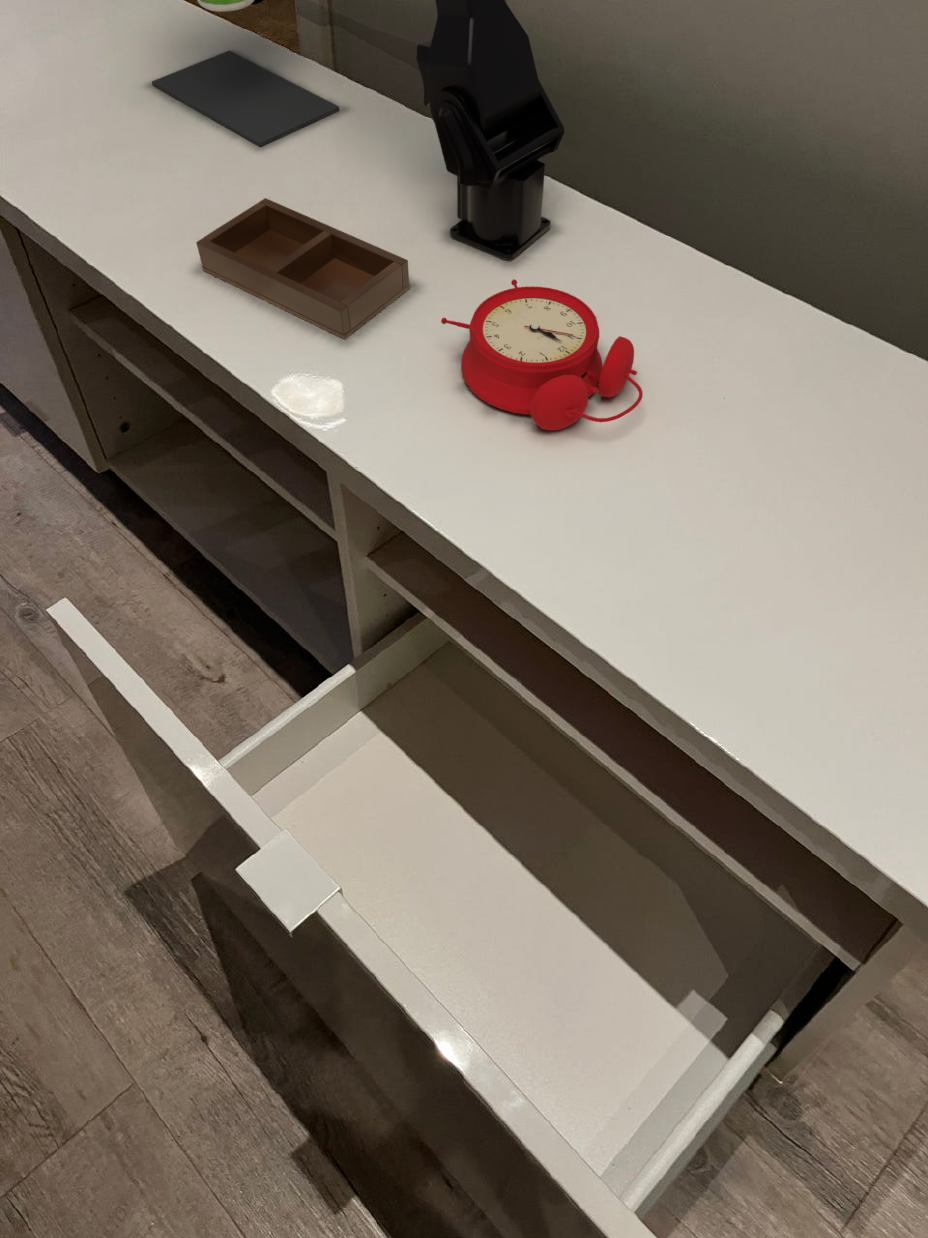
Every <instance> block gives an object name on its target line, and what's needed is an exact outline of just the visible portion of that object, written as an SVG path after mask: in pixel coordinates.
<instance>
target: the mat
mask: <svg viewBox="0 0 928 1238" xmlns="http://www.w3.org/2000/svg"><path fill="white" fill-rule="evenodd" d="M151 85H152V86H153V87H155V88H156V89H158V90H160V91H162V92H164V93H165V94H167V95H169V96H171V97H172V98H173V99H176V100H177V101H179V102H181V103H182V104H184V105H186V106H188V107H190V108H191V109H193V110H194V111H196V112H198V113H200V114H201V115H203V116H205V117H207V118H208V119H210V120H211V121H214V122H216V123H218V124H219V125H221V126H223V127H225V128H226V129H228V130H230V131H232V132H233V133H235V134H236V135H239V136H240V137H242V138H244V139H246V140H247V141H249V142H251V143H253V144H254V145H256V146H257V147H260V148H261V147H263V146H266V145H267V144H271V143H272V142H274V141H276V140H278V139H280V138H281V139H282V138H284V137H285V136H287V135H290V134H292V133H294V132H297V131H298V130H300V129H302V128H305V127H307V126H309V125H311V124H313V123H315V122H317V121H320V120H322V119H324V118H326V117H328V116H331V115H333V114H335V113H337V112H339V111H340V106H338V105H336V104H335V103H333V102H331V101H329V100H328V99H325V98H323V97H321V96H319V95H317V94H316V93H313V92H311V91H310V90H308V89H306V88H304V87H302V86H300V85H297V84H296V83H294V82H292V81H291V80H288V79H286V78H284V77H282V76H280V75H279V74H277V73H275V72H273V71H271V70H269V69H267V68H265V67H263V66H261V65H259V64H258V63H255V62H254V61H251V60H249V59H247V58H245V57H243V56H241V55H240V54H237V53H235V52H234V51H232V50H226V51H224V52H222V53H220V54H216V55H214V56H212V57H209V58H207V59H204V60H201V61H199V62H197V63H194V64H192V65H189V66H187V67H184V68H181V69H179V70H177V71H174V72H172V73H169V74H167V75H164V76H162V77H159V78H156V79H155V80H152V81H151Z"/></svg>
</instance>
